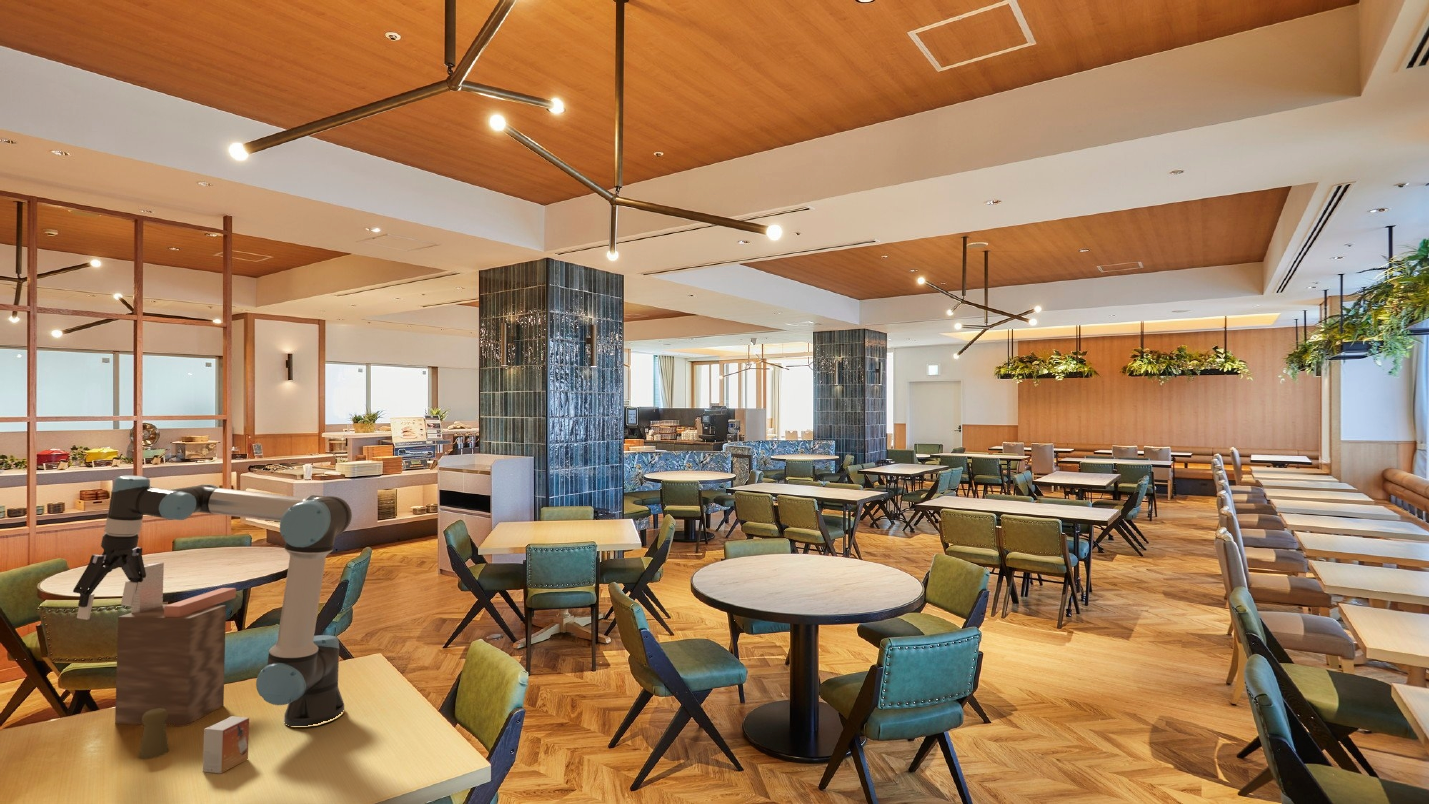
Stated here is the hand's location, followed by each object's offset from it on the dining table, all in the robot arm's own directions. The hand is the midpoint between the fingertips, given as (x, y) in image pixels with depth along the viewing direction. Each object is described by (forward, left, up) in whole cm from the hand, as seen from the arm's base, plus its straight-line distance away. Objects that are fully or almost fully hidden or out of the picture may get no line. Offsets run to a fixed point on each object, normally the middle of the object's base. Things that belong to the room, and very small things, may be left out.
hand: (105, 611), depth 189 cm
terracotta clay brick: (+8, -23, -4) cm, 25 cm away
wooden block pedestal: (+8, -16, -34) cm, 39 cm away
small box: (-39, -19, -35) cm, 56 cm away
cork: (-18, -8, -35) cm, 40 cm away
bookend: (+16, -11, -4) cm, 20 cm away
